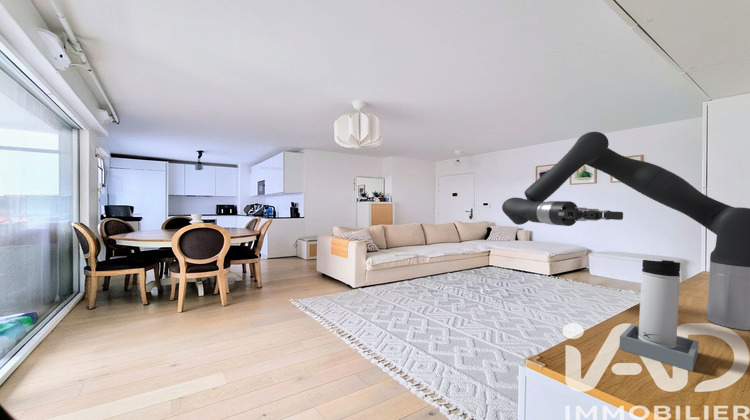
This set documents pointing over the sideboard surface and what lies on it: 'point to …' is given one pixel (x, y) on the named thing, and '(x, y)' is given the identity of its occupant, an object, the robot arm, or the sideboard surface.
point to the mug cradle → (661, 349)
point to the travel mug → (659, 303)
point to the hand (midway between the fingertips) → (611, 215)
